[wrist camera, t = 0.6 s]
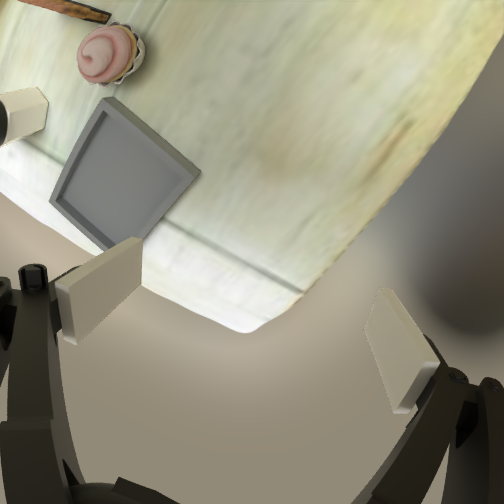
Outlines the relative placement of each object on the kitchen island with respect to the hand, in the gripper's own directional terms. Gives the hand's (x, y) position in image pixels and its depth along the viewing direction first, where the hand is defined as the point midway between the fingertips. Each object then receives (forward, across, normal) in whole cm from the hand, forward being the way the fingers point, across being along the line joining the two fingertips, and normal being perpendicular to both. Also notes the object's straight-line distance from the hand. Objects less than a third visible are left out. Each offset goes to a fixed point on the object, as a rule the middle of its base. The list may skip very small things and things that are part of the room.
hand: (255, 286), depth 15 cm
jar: (+22, -42, +11) cm, 49 cm away
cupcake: (+21, -23, +19) cm, 37 cm away
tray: (+26, -24, 0) cm, 35 cm away
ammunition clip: (+19, -32, +27) cm, 46 cm away
